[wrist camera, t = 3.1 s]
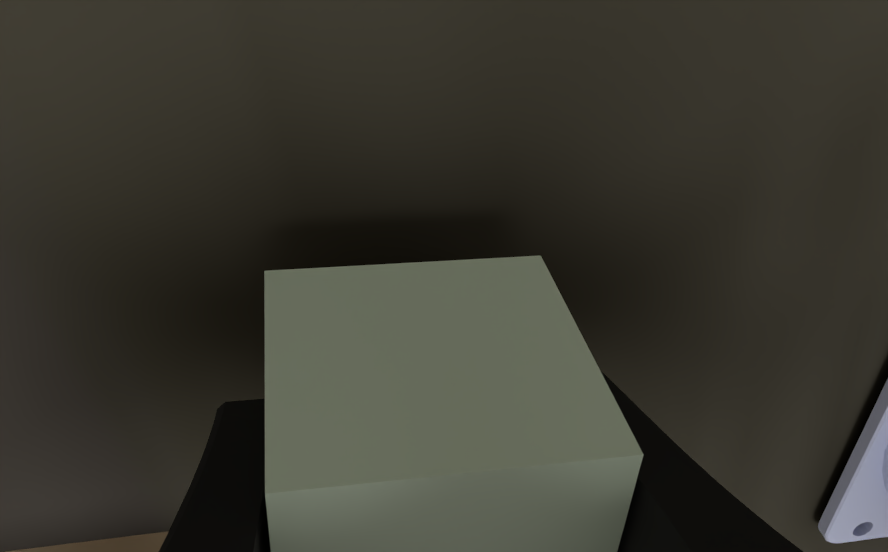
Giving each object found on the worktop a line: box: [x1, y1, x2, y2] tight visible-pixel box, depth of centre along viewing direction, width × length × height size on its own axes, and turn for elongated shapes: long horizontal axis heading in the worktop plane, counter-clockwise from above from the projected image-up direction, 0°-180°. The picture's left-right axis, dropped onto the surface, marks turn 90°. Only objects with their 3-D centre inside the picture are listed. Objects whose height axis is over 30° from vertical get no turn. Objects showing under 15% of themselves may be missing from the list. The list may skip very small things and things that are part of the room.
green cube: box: [264, 256, 644, 552], centre depth 11 cm, size 4×4×4 cm
